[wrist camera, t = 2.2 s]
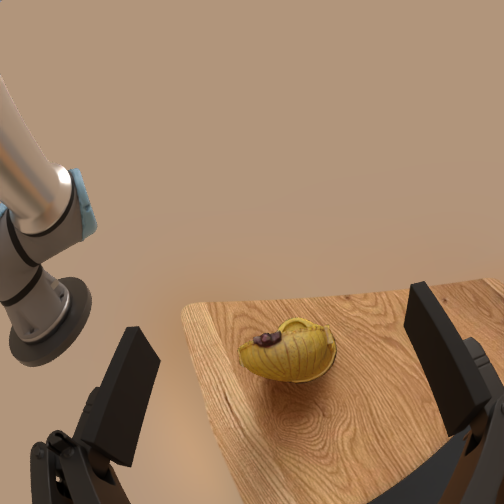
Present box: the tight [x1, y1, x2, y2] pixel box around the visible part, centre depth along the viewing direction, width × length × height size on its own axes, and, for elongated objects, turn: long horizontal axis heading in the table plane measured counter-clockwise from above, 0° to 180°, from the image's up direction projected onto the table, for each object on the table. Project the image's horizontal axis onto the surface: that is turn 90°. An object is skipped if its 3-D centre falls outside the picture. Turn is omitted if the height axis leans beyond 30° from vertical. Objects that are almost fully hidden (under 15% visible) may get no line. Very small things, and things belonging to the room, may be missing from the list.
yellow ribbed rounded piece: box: [237, 317, 337, 383], centre depth 25 cm, size 12×8×15 cm
